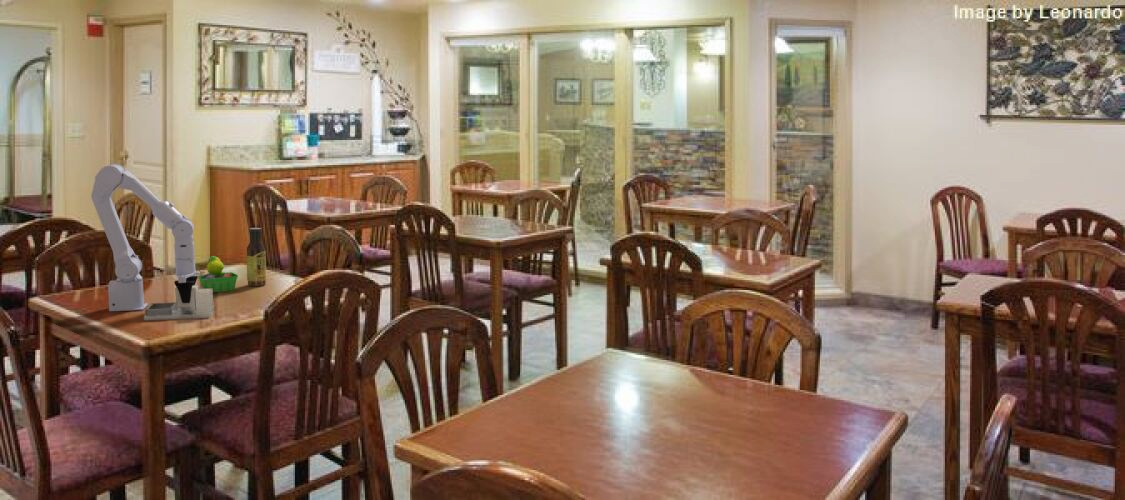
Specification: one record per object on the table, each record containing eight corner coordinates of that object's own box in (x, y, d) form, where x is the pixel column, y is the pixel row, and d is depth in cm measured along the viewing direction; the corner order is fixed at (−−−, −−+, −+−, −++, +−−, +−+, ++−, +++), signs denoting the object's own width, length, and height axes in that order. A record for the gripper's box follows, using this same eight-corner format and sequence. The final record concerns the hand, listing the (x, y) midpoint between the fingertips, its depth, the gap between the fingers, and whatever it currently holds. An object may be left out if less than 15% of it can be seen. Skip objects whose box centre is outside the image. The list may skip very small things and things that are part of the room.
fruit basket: (204, 294, 300) (202, 260, 298) (197, 289, 307) (195, 256, 306) (239, 290, 307) (237, 257, 305) (231, 286, 314) (230, 253, 312)
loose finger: (196, 306, 282) (195, 287, 281) (176, 307, 281) (175, 288, 280) (199, 303, 286) (198, 285, 285) (178, 304, 285) (177, 285, 284)
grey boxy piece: (144, 320, 264) (142, 296, 263) (151, 312, 274) (149, 289, 273) (209, 317, 268) (208, 294, 267) (214, 310, 278) (213, 287, 277)
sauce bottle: (260, 287, 312) (258, 230, 309) (243, 286, 313) (241, 229, 310) (270, 283, 318) (268, 227, 315) (253, 282, 319) (251, 226, 316)
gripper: (194, 261, 275) (197, 305, 277) (202, 253, 289) (204, 295, 291) (170, 262, 274) (172, 306, 276) (178, 254, 287) (181, 296, 290)
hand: (187, 301), depth 283 cm, fingers closed on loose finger, 4 cm apart
